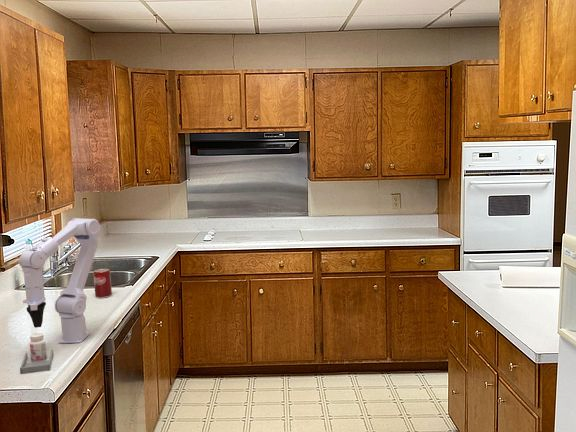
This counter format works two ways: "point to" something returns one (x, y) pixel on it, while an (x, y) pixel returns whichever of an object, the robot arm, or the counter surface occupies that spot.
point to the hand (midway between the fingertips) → (38, 325)
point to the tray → (35, 365)
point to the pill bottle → (37, 347)
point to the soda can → (102, 283)
